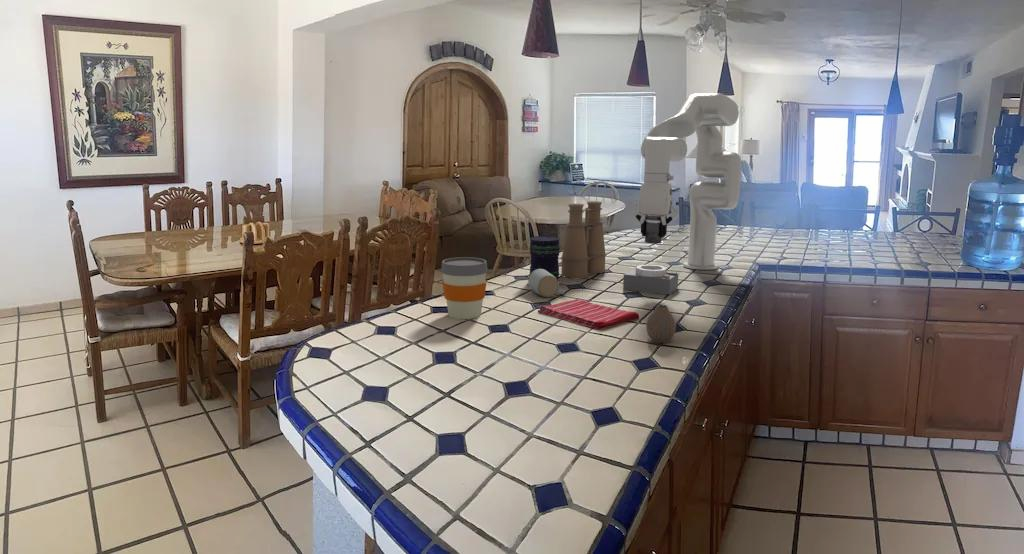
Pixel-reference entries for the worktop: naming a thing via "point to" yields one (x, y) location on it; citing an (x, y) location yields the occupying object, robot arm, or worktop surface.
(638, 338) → the worktop surface
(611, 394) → the worktop surface
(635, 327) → the worktop surface
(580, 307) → the dish towel
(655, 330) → the vase
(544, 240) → the storage jar
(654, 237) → the lens
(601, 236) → the binoculars
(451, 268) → the reusable coffee cup
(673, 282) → the camera body
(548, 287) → the ceramic mug
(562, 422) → the worktop surface
